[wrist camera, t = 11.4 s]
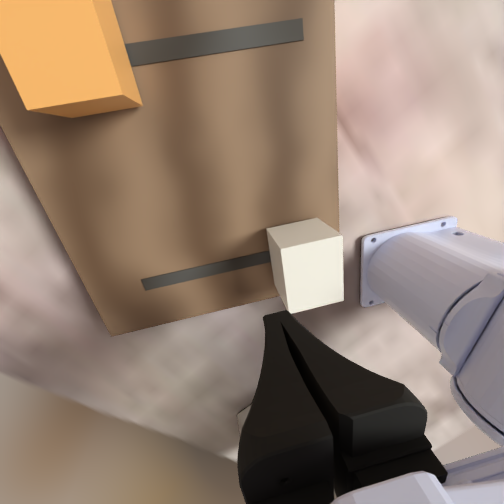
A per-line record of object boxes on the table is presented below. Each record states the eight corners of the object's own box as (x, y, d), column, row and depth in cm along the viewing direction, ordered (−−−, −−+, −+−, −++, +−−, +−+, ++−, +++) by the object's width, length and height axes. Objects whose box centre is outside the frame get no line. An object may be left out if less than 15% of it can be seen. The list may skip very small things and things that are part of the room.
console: (317, -56, 15) (333, -84, 13) (330, 274, 25) (340, 285, 23) (-46, -12, 13) (-87, -37, 11) (120, 324, 23) (112, 341, 21)
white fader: (316, 217, 19) (342, 235, 16) (320, 273, 21) (343, 300, 18) (266, 228, 19) (280, 249, 15) (274, 284, 21) (289, 314, 17)
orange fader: (108, -8, 13) (69, -68, 9) (143, 106, 15) (123, 94, 11) (23, 2, 12) (-52, -55, 9) (71, 118, 14) (27, 110, 11)
